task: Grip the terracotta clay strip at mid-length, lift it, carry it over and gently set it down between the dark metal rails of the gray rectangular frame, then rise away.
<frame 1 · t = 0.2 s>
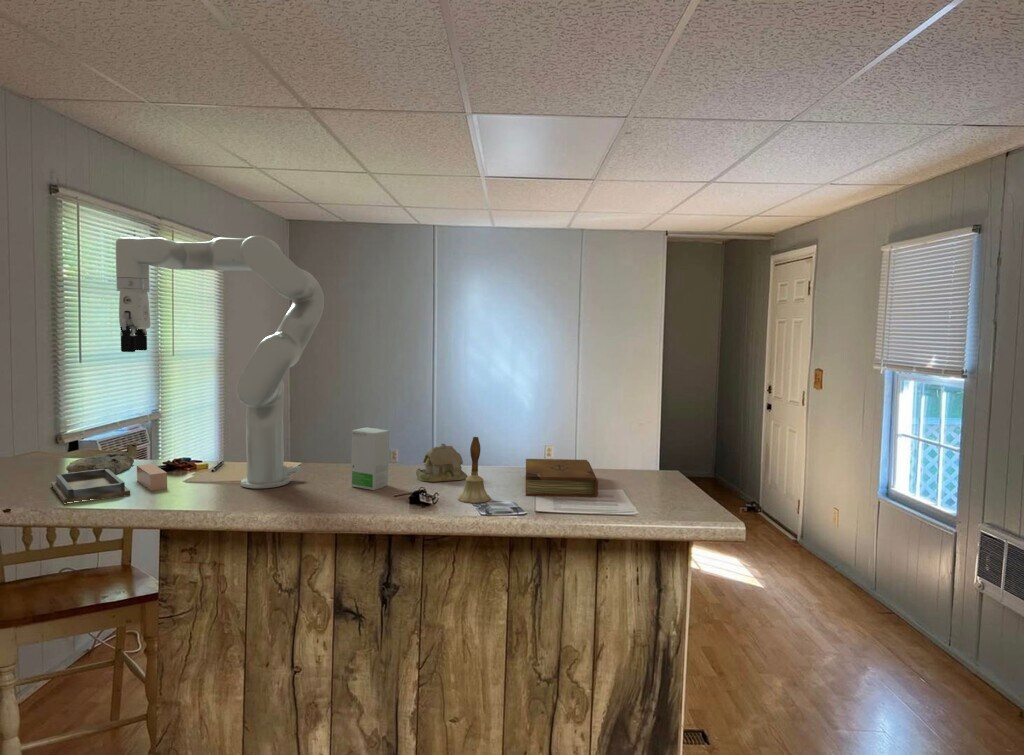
hand: (134, 351, 175), 36 cm above the worktop, tool pointing down, fingers open, 9 cm apart
clay tablet: (105, 471, 197), on the worktop
skincare box: (370, 486, 181), on the worktop
ceramic model: (442, 479, 192), on the worktop
gray rectangular frame: (90, 490, 172), on the worktop
diary: (559, 488, 184), on the worktop
hand bell: (474, 499, 169), on the worktop
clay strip: (152, 485, 179), on the worktop
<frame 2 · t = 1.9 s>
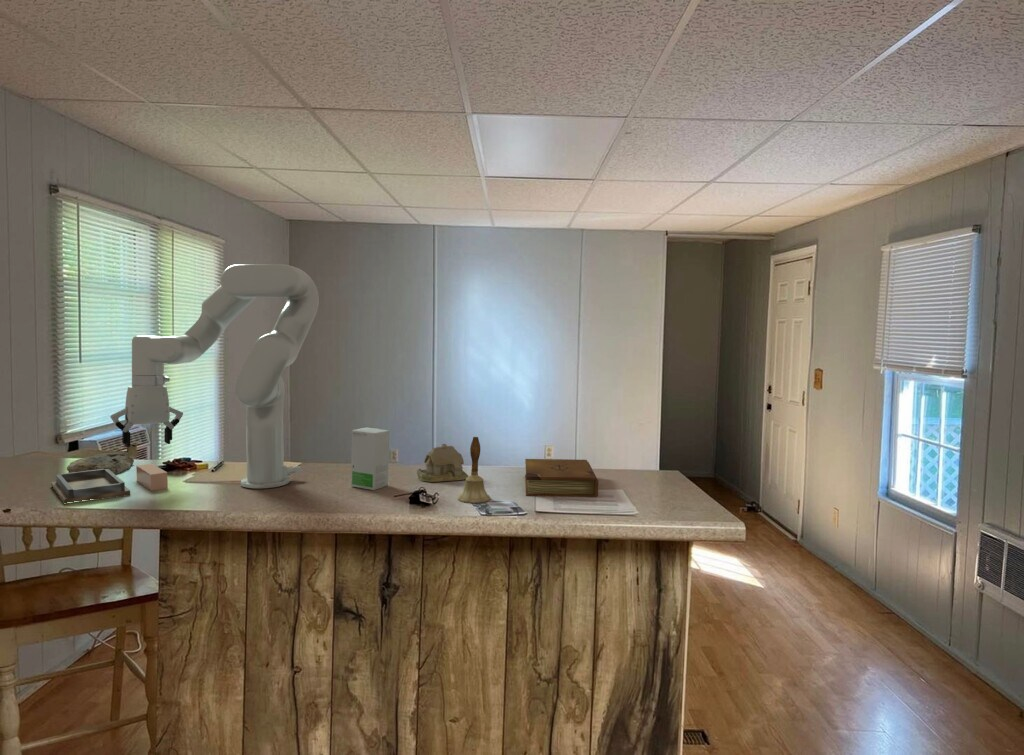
hand: (147, 444, 179), 11 cm above the worktop, tool pointing down, fingers open, 9 cm apart
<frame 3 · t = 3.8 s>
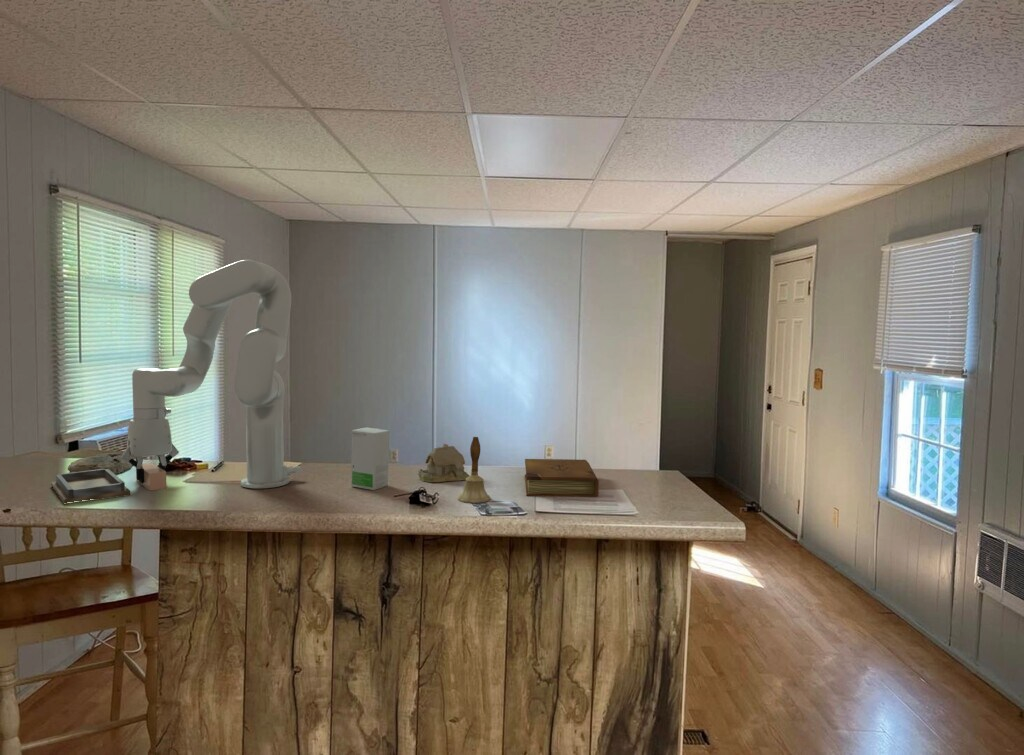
hand: (151, 480, 179), 1 cm above the worktop, tool pointing down, fingers closed on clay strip, 4 cm apart
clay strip: (151, 484, 179), on the worktop, touching gripper
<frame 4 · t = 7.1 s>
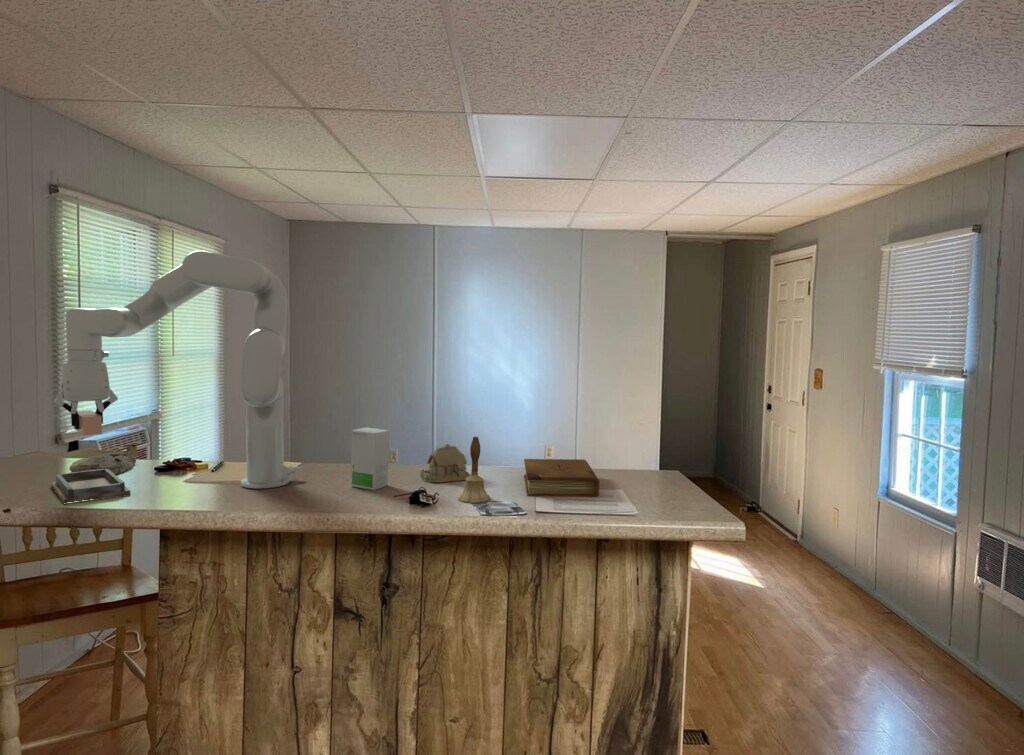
hand: (87, 427, 170), 17 cm above the worktop, tool pointing down, fingers closed on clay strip, 4 cm apart
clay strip: (87, 431, 171), point 16 cm above the worktop, touching gripper
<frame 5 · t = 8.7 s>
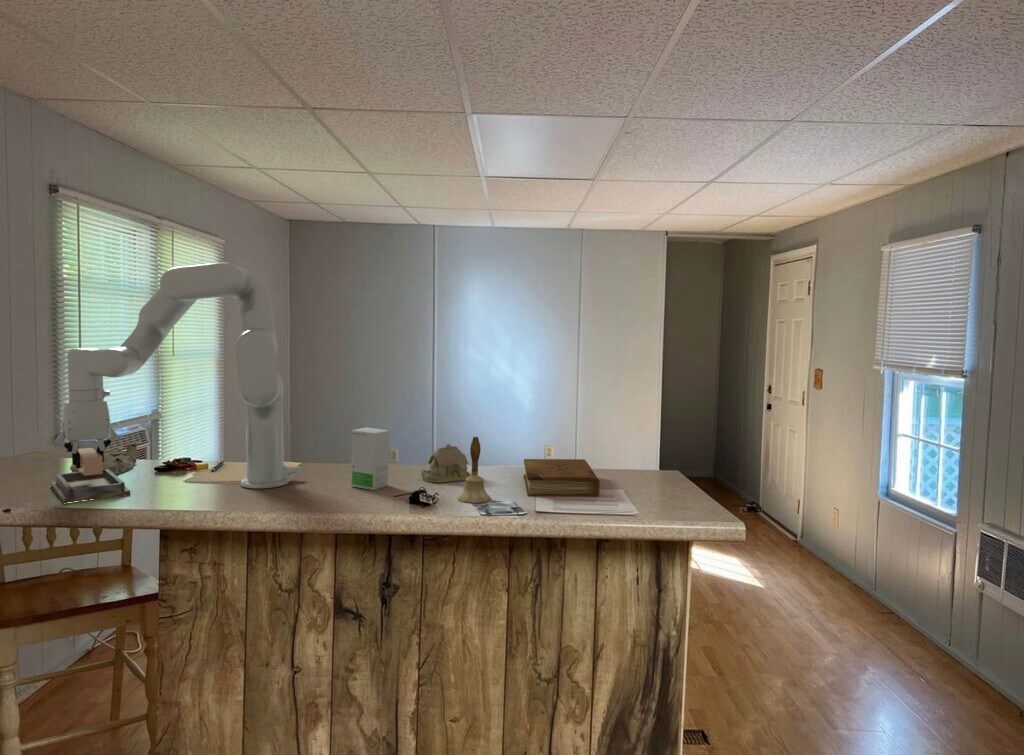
hand: (88, 465, 171), 7 cm above the worktop, tool pointing down, fingers closed on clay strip, 4 cm apart
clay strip: (88, 469, 171), point 6 cm above the worktop, touching gripper
when the fingers open (3 cm above the worktop, at t = 10.2 s): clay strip stays where it is, resting on gray rectangular frame.
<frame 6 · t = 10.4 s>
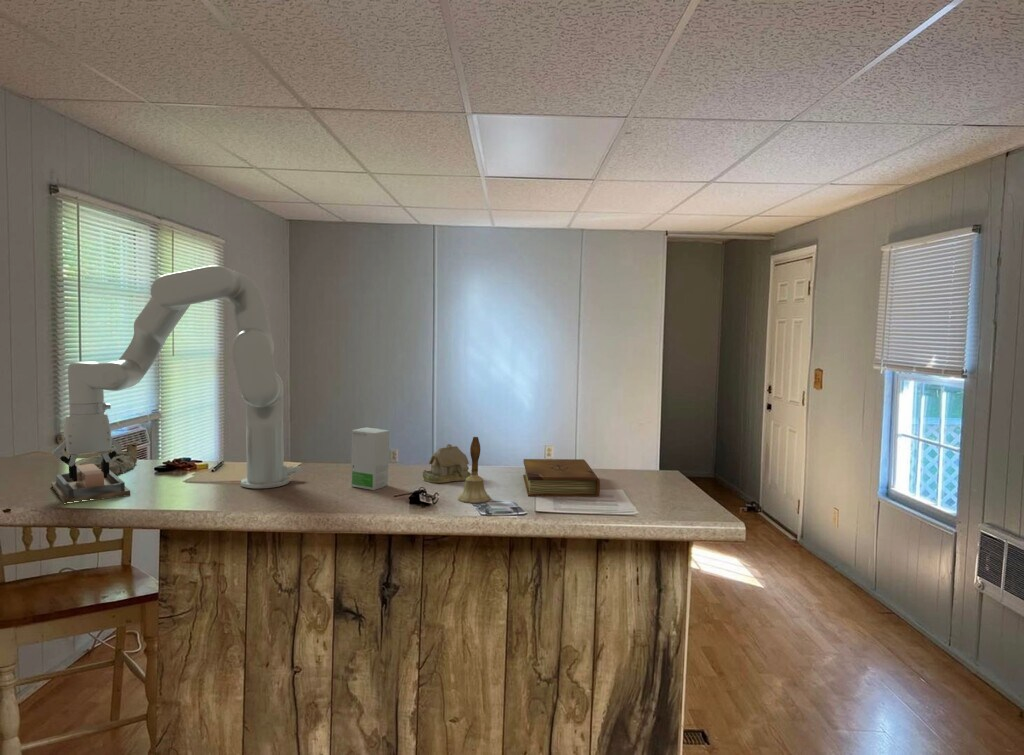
hand: (89, 478, 171), 3 cm above the worktop, tool pointing down, fingers open, 6 cm apart
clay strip: (90, 486, 172), point 1 cm above the worktop, touching gray rectangular frame
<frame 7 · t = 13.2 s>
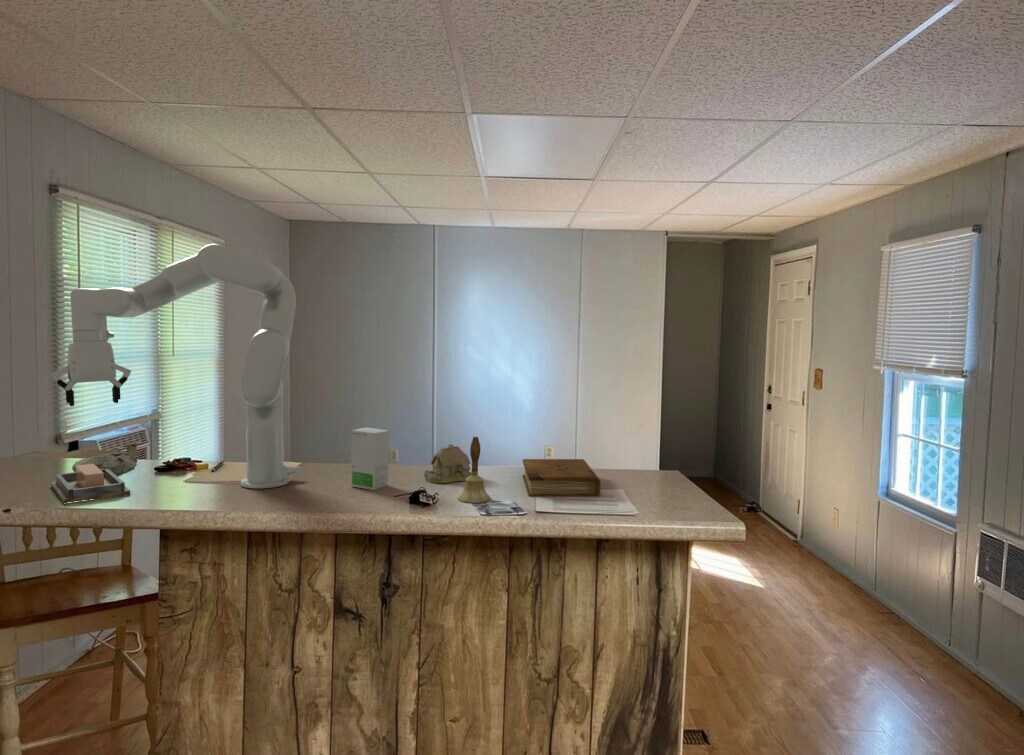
hand: (94, 404, 170), 23 cm above the worktop, tool pointing down, fingers open, 9 cm apart
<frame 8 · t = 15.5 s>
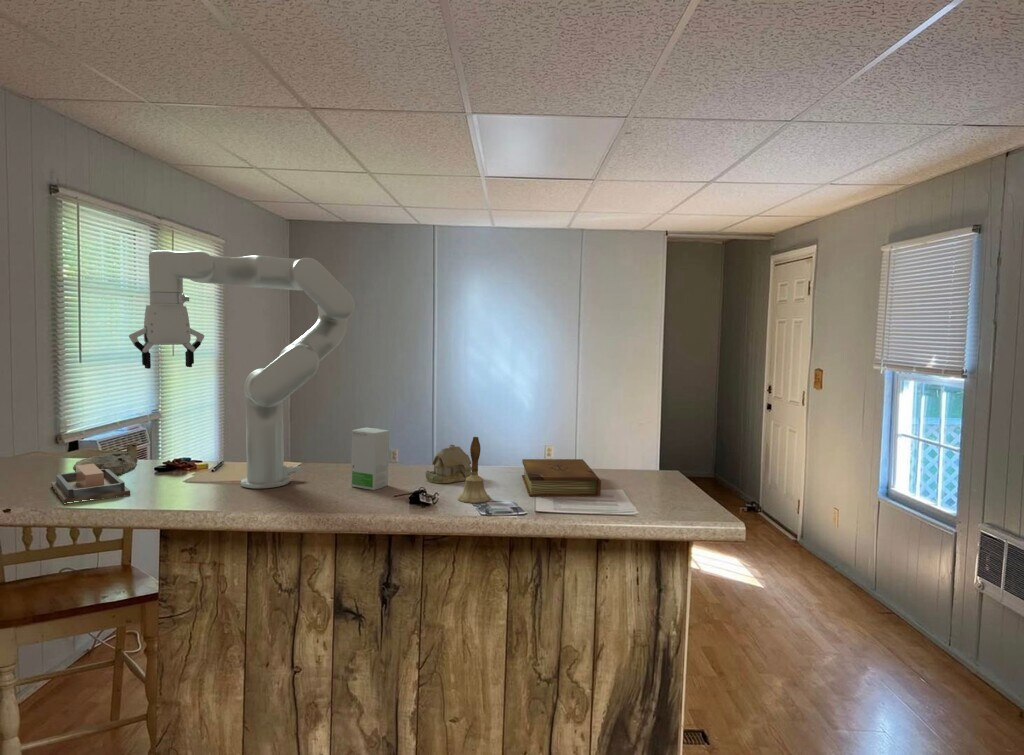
hand: (168, 367, 169), 32 cm above the worktop, tool pointing down, fingers open, 9 cm apart
at the end: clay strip inside the target area on the gray rectangular frame (0.0 cm from its centre), point 1.2 cm above the gray rectangular frame's base; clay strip tilted 0°; the gripper is holding nothing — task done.
